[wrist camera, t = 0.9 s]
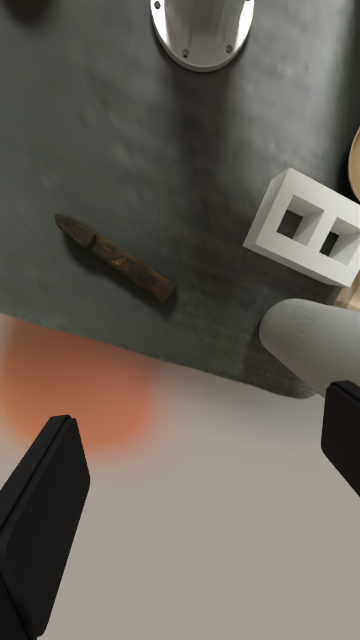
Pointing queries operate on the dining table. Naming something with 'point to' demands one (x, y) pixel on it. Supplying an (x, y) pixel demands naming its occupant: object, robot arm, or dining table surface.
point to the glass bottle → (314, 341)
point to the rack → (308, 229)
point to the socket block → (349, 296)
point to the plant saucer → (355, 165)
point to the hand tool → (117, 258)
